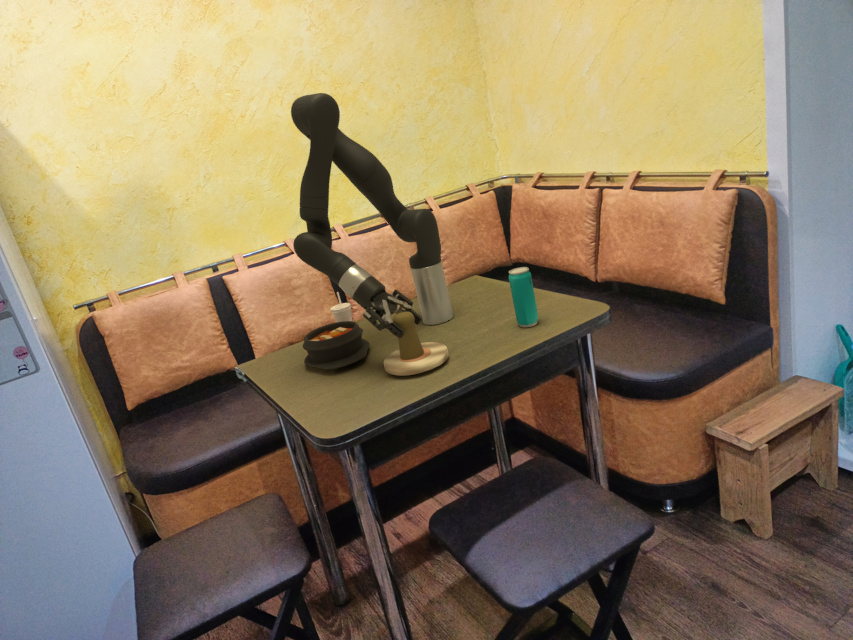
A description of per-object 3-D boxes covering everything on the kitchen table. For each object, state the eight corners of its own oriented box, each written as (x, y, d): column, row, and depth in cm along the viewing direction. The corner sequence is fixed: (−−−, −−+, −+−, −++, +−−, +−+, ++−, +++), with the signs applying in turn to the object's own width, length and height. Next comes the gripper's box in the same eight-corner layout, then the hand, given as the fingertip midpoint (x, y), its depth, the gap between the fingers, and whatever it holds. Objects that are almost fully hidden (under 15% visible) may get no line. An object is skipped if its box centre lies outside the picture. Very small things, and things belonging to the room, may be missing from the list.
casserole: (383, 359, 157) (375, 330, 154) (315, 383, 151) (306, 353, 149) (358, 337, 180) (351, 311, 177) (298, 357, 174) (290, 331, 172)
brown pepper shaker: (421, 358, 144) (411, 315, 140) (397, 361, 145) (387, 319, 142) (426, 348, 149) (416, 307, 146) (403, 351, 151) (393, 310, 148)
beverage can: (539, 319, 160) (530, 265, 155) (539, 326, 154) (529, 271, 150) (518, 322, 161) (508, 269, 156) (517, 329, 156) (507, 274, 151)
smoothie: (362, 331, 184) (350, 288, 180) (351, 339, 179) (339, 295, 175) (345, 332, 187) (333, 290, 183) (334, 340, 182) (321, 297, 178)
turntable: (396, 355, 158) (393, 345, 157) (454, 348, 153) (452, 338, 152) (377, 382, 143) (374, 371, 142) (441, 375, 138) (439, 364, 137)
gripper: (351, 285, 139) (403, 329, 137) (383, 266, 151) (432, 307, 148) (339, 307, 144) (390, 350, 141) (371, 288, 155) (418, 327, 153)
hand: (411, 328), depth 145 cm, fingers open, 8 cm apart
